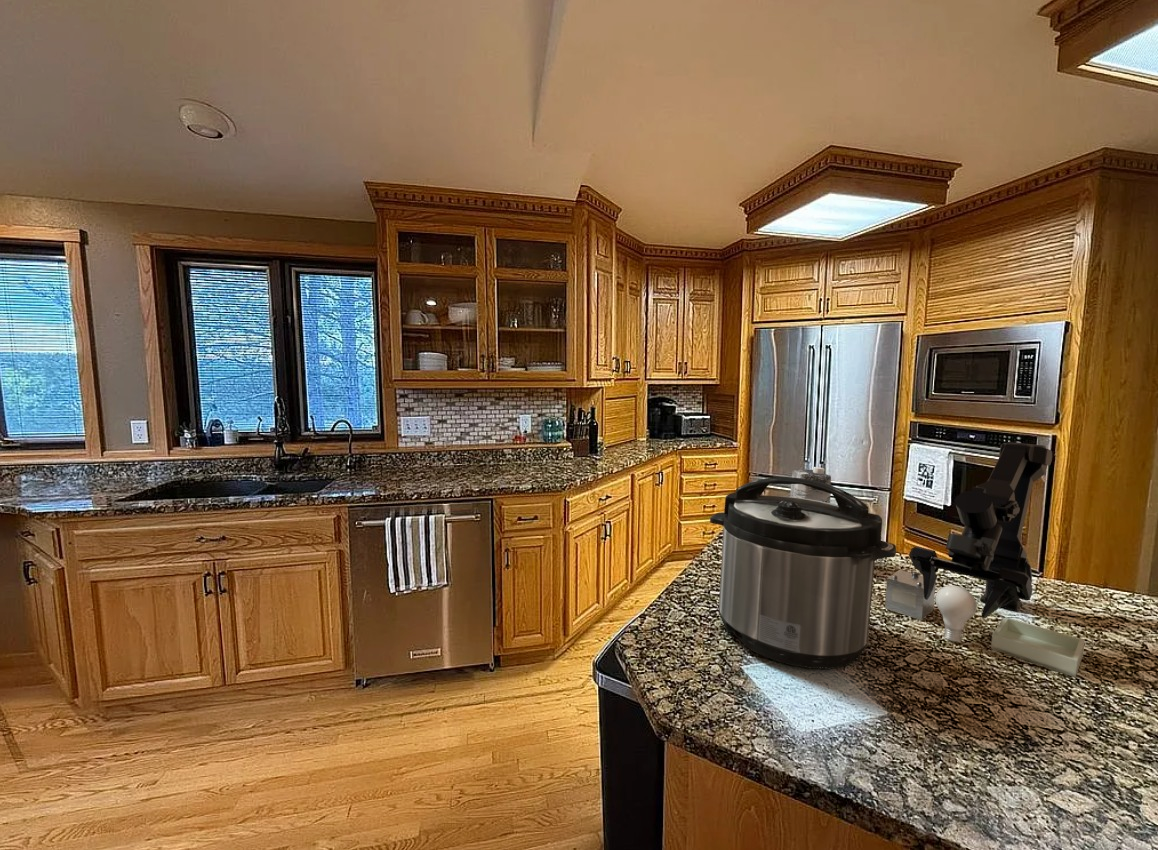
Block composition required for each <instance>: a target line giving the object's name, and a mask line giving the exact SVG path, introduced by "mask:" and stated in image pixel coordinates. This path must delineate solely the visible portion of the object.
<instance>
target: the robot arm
mask: <svg viewBox="0 0 1158 850" xmlns="http://www.w3.org/2000/svg"><path fill="white" fill-rule="evenodd" d="M999 447H1000V448H999V455H998V459H997V461H996V463H995V466H994V467H993V469H992V472H991V473H990V476H989V478H988V479H987V480H986V481H985V482H983V483H980V484H978V485H976V486H973V487H972V488H971V490H967V491H963V492H961V493H959V494H958V495H957V496H955V499H954V504H955V507H956V509H957V512H958V516H959V519H960V522H961V524H962V525H964V528H963V530H962V533H961V535H960V534H956V533H951V532H950V533H948V537H947V541H946V544H945V549H946V550H948V553H947V556H948V557H949V558H951V560H947V559H943V558H941V557H938V555H937V552H936V550H934V549H929V548H925V547H922V546H918V545H916V546H914V547H912V548H911V549H910V551H909V554H908V555H909V559H910V561H911V563H912V565H913V567H914V569H915V570H918V571H919V572H918V573H920V575H921V576H923V585H924V598H925V599H926V600H928V598H929V597H930V595H931V592H932V589H933V587H934V584H935V581H936V580H937V579H938V576H937V574H936V573H938V572H939V569H942V570H946V571H949V572H953V573H957V574H960V575H964V576H968V577H971V578H976V579H979V580H983V581H985V590H984V591H985V592H984V594H983V595H982V596H981V597H980V598H979V601H980V602H982V603H985V604H984V606H983V609H982V611H981V617H982V618H983V619H987V618H988V617H989V616H991V615H992V614H994V612H996V611H997V610H998V609H1000V608H1003V609H1007V610H1011V611H1015V612H1017V611H1019V608H1020V607H1021V606H1022V604H1023V602H1022V601H1021V600H1023V601H1030V600H1031V598H1032V594H1033V585H1032V584H1033V573H1032V572H1033V571H1032V565H1030V562H1029V561H1030V560H1029V559H1028V558H1027V557H1028V553H1027V551H1026V550H1025V547H1024V545H1023V543H1022V542H1021V539H1022V535H1023V531H1024V525H1025V521H1026V517H1027V513H1028V508H1029V503H1030V498H1031V495H1032V491H1033V487H1034V486H1033V485H1034V483H1035V482H1036V481H1037V480H1038V481H1039V480H1040V479H1041V478H1042V477H1043V476H1045V475H1046V472H1047V468H1048V466H1051V463H1052V460H1053V451H1052V450H1051V449H1048V448H1047V447H1046V445H1044V444H1030V443H1022V442H1021V443H1020V442H1019V443H1018V442H1010V441H1009V442H1006V443H1005V442H1003V443H1002V444H1000V446H999ZM936 582H937V581H936ZM935 585H936V584H935Z"/></svg>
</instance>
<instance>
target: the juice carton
mask: <svg viewBox="0 0 1158 850" xmlns="http://www.w3.org/2000/svg"><path fill="white" fill-rule="evenodd" d="M791 473H792V474H791V477H793V478H802V479H808V480H813V481H818V482H822V483H825V484H828V485H831V486H832V477H831V475H829V474H826V473H825V468H824V467H817V466H813V468H812V469H807V468H806V469H805V468H804V469H802V468H801V469H799V468H798V469H796V468H794V469H792V472H791ZM831 496H832V494H830V493H827V492H824V491H821V490H818V489H815V488H811V487H808V486H805V485H802V484H790V495H789V497H797V498H804V499H811V500H817V501H822V502H826V503H831Z"/></svg>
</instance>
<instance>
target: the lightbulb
mask: <svg viewBox="0 0 1158 850" xmlns="http://www.w3.org/2000/svg"><path fill="white" fill-rule="evenodd" d="M934 602H935V604H936V607H937V609H938V611H939V612H940V614H941V615H942V620H943V624H944V634H943V636H944V637H945V639H947V640H948V641H950V642H951V643H958V642H961V641H962V638H963V637H962V636H963V635H962V634H963V629H964V628H965V626H966V624H967V622H968V621H969V620H970V619H971V618H973V616H974V615H975V614H976V613H977V609H978V605H977V600H976V599H975V597H974V596H973V594H972V593H971V592H970V591H968V590H967V589H966V588H964V587H962V586H958V585H945V586H943V587H941V588H939V589H938V591H937V592H936V593H935V597H934Z"/></svg>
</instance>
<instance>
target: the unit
mask: <svg viewBox="0 0 1158 850" xmlns="http://www.w3.org/2000/svg"><path fill="white" fill-rule="evenodd" d="M919 573H920V572H916V571H912V572H908V571H905V570H902V569H899V570H897V571H896V572H895V573H893V574H891V575H890V576H888V577H886V587H885V600H884V601H885V603H884V609H886V610H890V611H892V612H895V613H898V614H901V615H904V616H906V617H911V618H913V619H917V620H919V621H923V620H924V619H925V618H926V617H927V616H929V615H930V614H931V613H932V612H933V611H934V609H935V607H934V606H935V597H936V584H937V583H936V582H937V581H935V584H934V587H933V589H932V592H931V595H930V597H929V598H928V600H926V599H925V598H924V585H923V575H921V574H919Z"/></svg>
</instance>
